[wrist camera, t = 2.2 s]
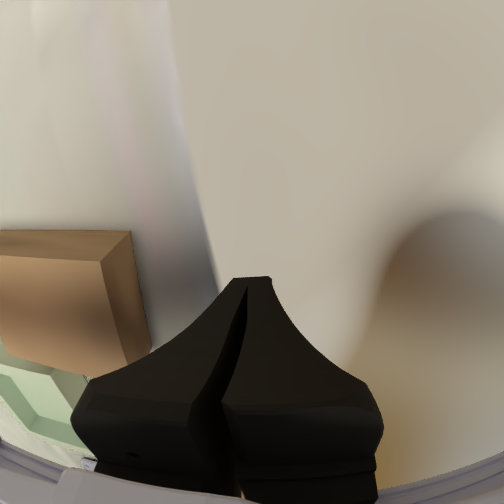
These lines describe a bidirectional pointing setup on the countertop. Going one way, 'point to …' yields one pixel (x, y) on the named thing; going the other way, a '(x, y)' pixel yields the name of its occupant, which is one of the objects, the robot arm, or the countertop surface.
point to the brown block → (72, 300)
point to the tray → (41, 399)
